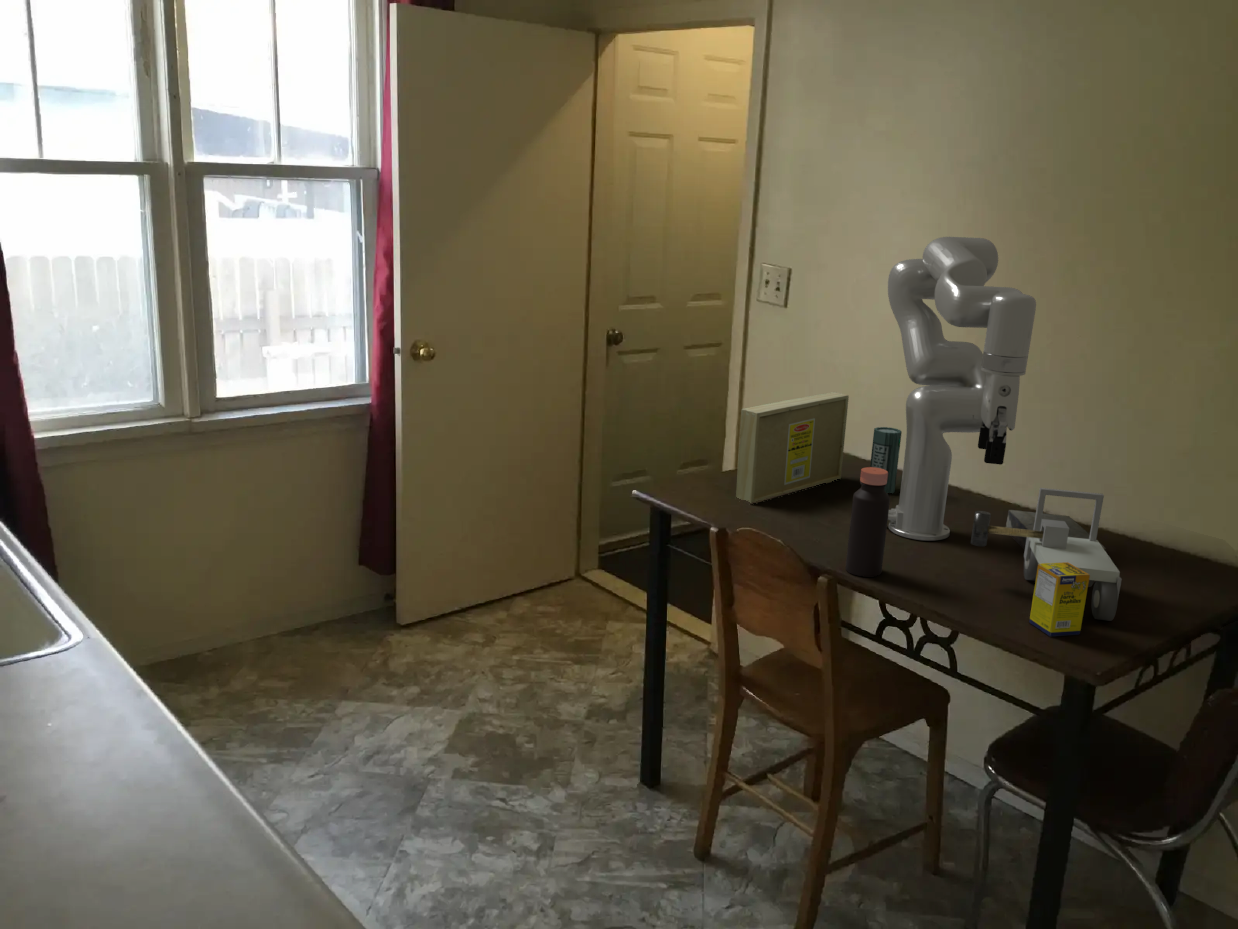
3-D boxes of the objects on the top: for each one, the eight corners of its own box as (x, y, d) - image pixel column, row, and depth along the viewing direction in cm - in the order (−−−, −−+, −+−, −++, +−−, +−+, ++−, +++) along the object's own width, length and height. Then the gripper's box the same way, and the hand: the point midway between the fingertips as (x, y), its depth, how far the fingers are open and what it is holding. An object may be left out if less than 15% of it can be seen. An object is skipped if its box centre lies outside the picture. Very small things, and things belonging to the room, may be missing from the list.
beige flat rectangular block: (825, 476, 263) (834, 391, 257) (841, 480, 259) (850, 394, 253) (734, 500, 239) (741, 408, 234) (749, 505, 236) (757, 412, 230)
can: (898, 490, 252) (905, 430, 248) (886, 495, 248) (893, 434, 244) (875, 485, 256) (882, 425, 252) (863, 490, 252) (870, 429, 248)
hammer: (971, 545, 193) (975, 514, 192) (969, 540, 196) (974, 510, 194) (1042, 553, 191) (1047, 521, 189) (1039, 547, 193) (1044, 517, 192)
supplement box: (1080, 635, 175) (1091, 574, 172) (1049, 637, 173) (1059, 576, 170) (1058, 620, 180) (1068, 561, 177) (1027, 622, 179) (1037, 563, 176)
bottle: (878, 580, 195) (890, 477, 189) (841, 573, 197) (852, 472, 192) (884, 568, 201) (896, 468, 196) (848, 562, 203) (859, 463, 198)
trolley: (1039, 618, 181) (1055, 520, 176) (1018, 571, 203) (1032, 482, 198) (1116, 627, 178) (1135, 528, 174) (1087, 579, 200) (1103, 489, 195)
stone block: (1036, 564, 208) (1040, 540, 207) (1003, 531, 227) (1007, 509, 226) (1104, 568, 208) (1109, 544, 207) (1066, 535, 227) (1070, 512, 226)
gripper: (1034, 375, 176) (1018, 471, 181) (1018, 356, 193) (1004, 445, 198) (988, 371, 178) (973, 467, 183) (976, 353, 194) (963, 441, 199)
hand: (989, 455), depth 190 cm, fingers open, 9 cm apart
